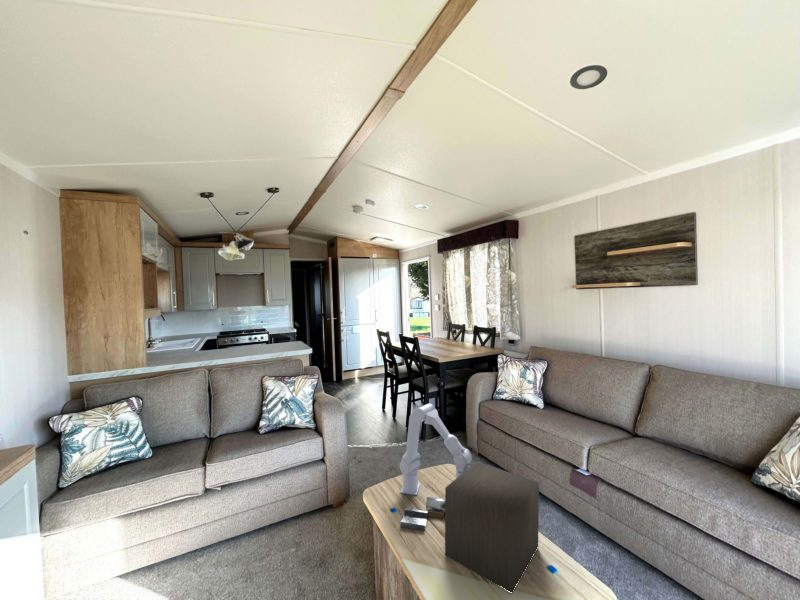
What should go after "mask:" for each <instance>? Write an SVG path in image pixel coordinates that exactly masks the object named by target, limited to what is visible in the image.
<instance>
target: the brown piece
mask: <svg viewBox="0 0 800 600" xmlns="http://www.w3.org/2000/svg"><path fill="white" fill-rule="evenodd" d="M427 511H428V517H434V518H440V519H443V518H444V513H443V512H438V511H431V510H427Z"/></svg>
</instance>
